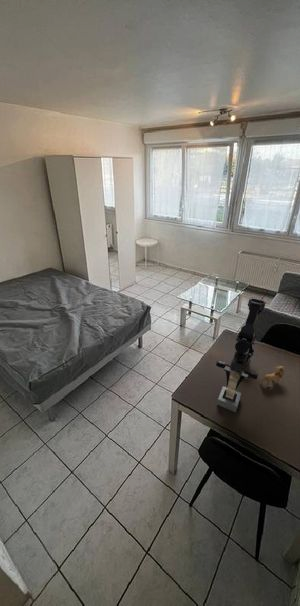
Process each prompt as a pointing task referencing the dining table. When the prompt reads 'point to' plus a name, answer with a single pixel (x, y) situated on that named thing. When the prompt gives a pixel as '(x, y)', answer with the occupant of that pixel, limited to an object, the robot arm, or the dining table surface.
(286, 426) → the dining table surface
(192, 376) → the dining table surface
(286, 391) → the dining table surface
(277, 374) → the lion figurine
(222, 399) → the end cap
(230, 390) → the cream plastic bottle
